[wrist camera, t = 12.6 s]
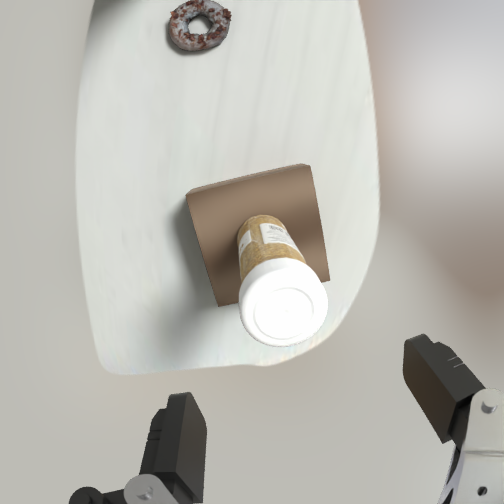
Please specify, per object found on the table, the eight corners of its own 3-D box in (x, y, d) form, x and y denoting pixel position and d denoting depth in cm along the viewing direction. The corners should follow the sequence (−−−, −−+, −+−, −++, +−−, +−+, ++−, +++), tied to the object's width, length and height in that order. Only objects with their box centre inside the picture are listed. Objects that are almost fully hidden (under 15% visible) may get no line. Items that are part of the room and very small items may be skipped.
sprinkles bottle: (226, 234, 28) (220, 307, 15) (268, 203, 27) (297, 251, 15) (258, 272, 29) (274, 364, 17) (298, 243, 29) (345, 317, 16)
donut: (224, 69, 27) (222, 64, 25) (151, 56, 27) (145, 51, 25) (247, 2, 25) (247, -6, 23) (176, -9, 24) (172, -17, 22)
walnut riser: (191, 189, 31) (185, 195, 27) (301, 163, 30) (310, 165, 26) (220, 289, 34) (218, 306, 30) (320, 265, 34) (330, 280, 30)
